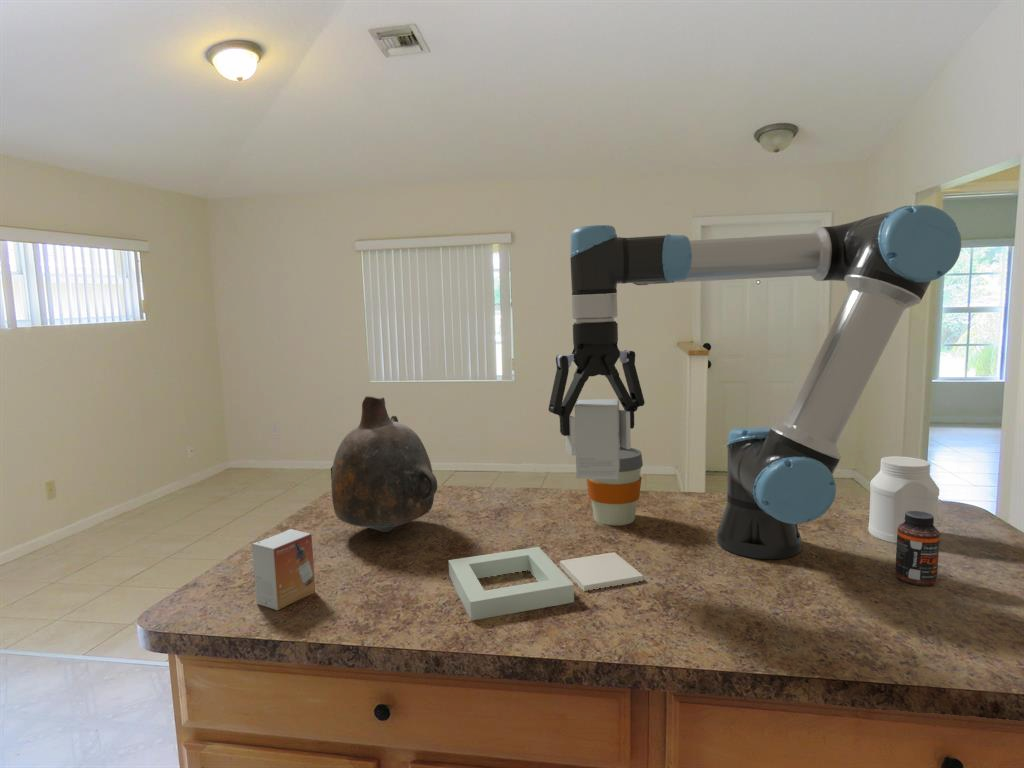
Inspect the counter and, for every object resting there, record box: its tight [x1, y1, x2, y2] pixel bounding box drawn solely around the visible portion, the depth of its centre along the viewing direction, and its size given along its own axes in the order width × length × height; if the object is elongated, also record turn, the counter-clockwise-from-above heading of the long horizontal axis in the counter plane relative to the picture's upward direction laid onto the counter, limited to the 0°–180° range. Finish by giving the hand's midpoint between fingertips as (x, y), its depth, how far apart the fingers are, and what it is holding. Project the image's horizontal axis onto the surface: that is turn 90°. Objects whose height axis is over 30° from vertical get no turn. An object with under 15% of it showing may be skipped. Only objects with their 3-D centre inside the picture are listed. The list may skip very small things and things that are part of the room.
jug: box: [330, 395, 438, 533], centre depth 135 cm, size 24×21×30 cm
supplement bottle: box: [894, 511, 941, 587], centre depth 105 cm, size 6×6×11 cm
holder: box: [447, 546, 575, 622], centre depth 107 cm, size 17×17×3 cm
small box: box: [251, 528, 316, 611], centre depth 106 cm, size 8×6×10 cm
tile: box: [559, 551, 644, 592], centre depth 112 cm, size 11×11×1 cm
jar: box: [868, 455, 940, 544], centre depth 125 cm, size 12×10×15 cm
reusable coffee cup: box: [586, 446, 644, 526], centre depth 139 cm, size 13×13×15 cm
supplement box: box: [574, 398, 620, 480], centre depth 109 cm, size 7×7×13 cm
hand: (598, 450), depth 109 cm, fingers closed on supplement box, 10 cm apart
